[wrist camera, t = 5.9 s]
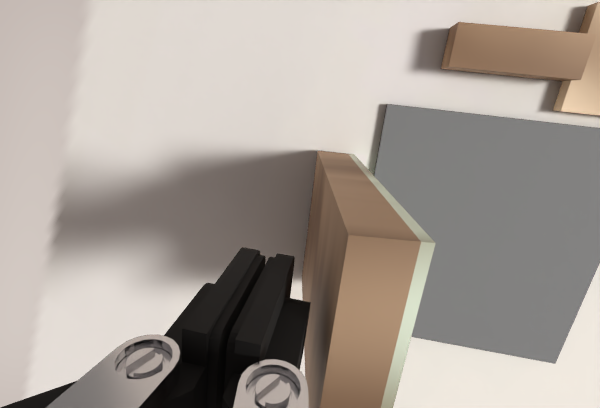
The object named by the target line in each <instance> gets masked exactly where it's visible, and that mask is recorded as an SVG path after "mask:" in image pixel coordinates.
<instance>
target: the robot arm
mask: <svg viewBox="0 0 600 408" xmlns="http://www.w3.org/2000/svg"><path fill="white" fill-rule="evenodd" d="M293 268H294V256H288V255H283V254H277V255H276V257H275V258H273V257H269V259H268V261H267V263H266V265H265V256H262V255H260V251H259V250H254V249H248V248H241V249H240V251H239V252H238V253H237V255H236V256H235V257H234V259H233V260H232V261H231V263H230V264H229V266H228V267H227V268H226V270H225V271H224V272H223V274H222V275H221V276H220V278H219V279H218V280H217V282H216V283H215V284H211V283H206V284H205V285H204V286H203V287H202V288H201V289H200V291H199V292H198V293H197V295H196V296H195V297H194V298H193V300H192V301H191V302H190V303H189V305H188V306H187V307H186V308H185V310H184V311H183V312H182V313H181V315H180V316H179V317H178V319H177V320H176V321H175V322H174V324H173V325H172V326H171V327H170V329H169V330H168V331H167V332H166V334H165V335H164V336H162V335H144V336H139V337H136V338H133V339H131V340H128V341H126V342H125V343H123V344H122V345H120V346H119V347H117V348H116V349H115V350H114V351H112V352H111V353H110V354H109V355H108V356H106V357H105V358H104V359H103V360H102V361H101V362H99V363H98V364H97V365H96V366H95V367H93V368H92V369H91V370H90V371H89V372H87V373H86V374H85V375H84V376H83V377H81V378H80V379H79V380H78V381H75V382H73V383H70V384H67V385H64V386H61V387H58V388H55V389H52V390H50V391H47V392H44V393H41V394H38V395H35V396H32V397H29V398H27V399H24V400H21V401H18V402H15V403H12V404H9V405H7V406H4V407H1V408H309V398H308V385H307V381H306V379H305V377H304V375H303V374H302V372H301V371H300V365H301V359H302V354H303V349H304V343H305V338H306V332H307V325H308V319H309V312H310V304H311V302H307V301H301V300H296V299H291V298H290V293H291V285H292V276H293Z"/></svg>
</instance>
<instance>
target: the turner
mask: <svg viewBox="0 0 600 408" xmlns="http://www.w3.org/2000/svg"><path fill="white" fill-rule="evenodd" d="M441 69H448V70H458V71H468V72H477V73H487V74H497V75H507V76H516V77H526V78H536V79H546V80H556V81H562V84H561V87H560V90H559V93H558V96H557V99H556V102H555V105H554V108H553V111H561V112H570V113H580V114H589V115H598V116H600V2H597V3H595V4H592V5H589V6H588V7H587V10H586V13H585V16H584V19H583V22H582V25H581V28H580V31H579V33H575V32H564V31H553V30H542V29H531V28H519V27H508V26H497V25H486V24H475V23H464V22H458V23H457V24H455V25H454V26H452V27H451V28H450V30H449V34H448V39H447V43H446V48H445V52H444V57H443V61H442V66H441Z"/></svg>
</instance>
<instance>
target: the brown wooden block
mask: <svg viewBox="0 0 600 408" xmlns="http://www.w3.org/2000/svg"><path fill="white" fill-rule="evenodd" d="M434 247H435V242H434V241H433V240H432V239H431V238H430V237H429V235H428V234H427V233H426V232H425V231H424V230H423V229H422V228H421V227H420V226H419V225H418V223H417V222H416V221H415V220H414V219H413V218H412V217H411V216H410V215H409V214H408V213H407V211H406V210H405V209H404V208H403V207H402V206H401V205H400V204H399V203H398V202H397V201H396V199H395V198H394V197H393V196H392V195H391V194H390V193H389V192H388V191H387V190H386V189H385V187H384V186H383V185H382V184H381V183H380V182H379V181H378V180H377V179H376V178H375V177H374V175H373V174H372V173H371V172H370V171H369V170H368V169H367V168H366V167H365V166H364V165H363V164H362V162H361V161H360V160H359V159H358V158H357V157H356V156H355V155H354V154H344V153H335V152H325V151H318V152H317V160H316V168H315V176H314V184H313V192H312V200H311V208H310V216H309V224H308V232H307V240H306V248H305V256H304V265H303V273H302V292H303V301H307V302H311V304H310V312H309V319H308V325H307V332H306V338H305V343H304V349H305V378H306V381H307V385H308V398H309V408H393V405H394V401H395V398H396V394H397V390H398V386H399V382H400V378H401V374H402V371H403V367H404V363H405V359H406V355H407V351H408V348H409V344H410V340H411V336H412V332H413V328H414V324H415V321H416V317H417V313H418V309H419V305H420V301H421V297H422V294H423V290H424V286H425V282H426V278H427V274H428V270H429V267H430V263H431V259H432V255H433V251H434Z"/></svg>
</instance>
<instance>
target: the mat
mask: <svg viewBox="0 0 600 408" xmlns="http://www.w3.org/2000/svg"><path fill="white" fill-rule="evenodd" d="M374 177H375V178H376V179H377V180H378V181H379V182H380V183H381V184H382V185H383V186H384V187H385V189H386V190H387V191H388V192H389V193H390V194H391V195H392V196H393V197H394V198H395V199H396V201H397V202H398V203H399V204H400V205H401V206H402V207H403V208H404V209H405V210H406V211H407V213H408V214H409V215H410V216H411V217H412V218H413V219H414V220H415V221H416V222H417V223H418V225H419V226H420V227H421V228H422V229H423V230H424V231H425V232H426V233H427V234H428V235H429V237H430V238H431V239H432V240H433V241H434V242H435V247H434V251H433V255H432V259H431V263H430V267H429V270H428V274H427V278H426V282H425V286H424V290H423V294H422V297H421V301H420V305H419V309H418V313H417V317H416V321H415V324H414V328H413V332H412V336H411V337H416V338H421V339H426V340H432V341H437V342H442V343H448V344H453V345H458V346H464V347H469V348H474V349H480V350H485V351H490V352H496V353H501V354H507V355H512V356H517V357H523V358H528V359H533V360H539V361H544V362H549V363H556V361H557V358H558V356H559V354H560V352H561V349H562V347H563V345H564V342H565V340H566V338H567V336H568V333H569V331H570V329H571V327H572V324H573V322H574V320H575V318H576V315H577V313H578V311H579V308H580V306H581V304H582V302H583V299H584V297H585V295H586V293H587V290H588V288H589V286H590V283H591V281H592V279H593V277H594V274H595V272H596V270H597V268H598V265H599V263H600V128H594V127H585V126H576V125H568V124H559V123H550V122H541V121H533V120H524V119H515V118H506V117H497V116H489V115H480V114H471V113H462V112H454V111H445V110H436V109H427V108H418V107H410V106H401V105H392V104H387V107H386V112H385V118H384V123H383V128H382V134H381V139H380V145H379V150H378V156H377V161H376V167H375V172H374Z"/></svg>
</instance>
